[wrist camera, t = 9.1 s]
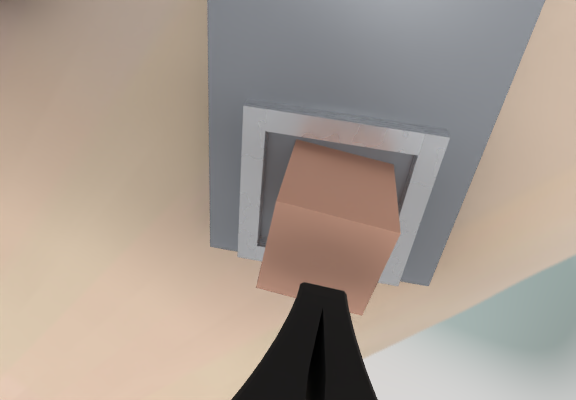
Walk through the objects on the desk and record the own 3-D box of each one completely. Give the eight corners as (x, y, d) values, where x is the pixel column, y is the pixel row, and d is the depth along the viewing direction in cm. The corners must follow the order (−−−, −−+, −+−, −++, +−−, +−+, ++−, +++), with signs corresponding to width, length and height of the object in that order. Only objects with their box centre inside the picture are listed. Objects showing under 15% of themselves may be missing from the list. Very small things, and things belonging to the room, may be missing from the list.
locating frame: (397, 275, 22) (398, 286, 22) (241, 247, 23) (237, 256, 22) (447, 129, 18) (450, 137, 17) (247, 98, 18) (243, 105, 18)
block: (363, 239, 21) (362, 315, 17) (277, 216, 21) (255, 287, 17) (393, 164, 19) (400, 233, 15) (296, 139, 19) (276, 200, 15)
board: (426, 270, 23) (428, 286, 22) (216, 233, 24) (210, 246, 23) (623, -234, 12) (646, -247, 11) (216, -269, 13) (204, -284, 12)
